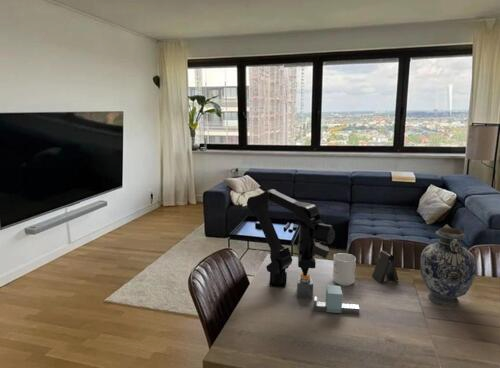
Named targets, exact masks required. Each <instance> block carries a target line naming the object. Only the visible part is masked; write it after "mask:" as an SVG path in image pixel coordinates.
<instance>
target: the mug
mask: <svg viewBox="0 0 500 368" xmlns="http://www.w3.org/2000/svg"><path fill="white" fill-rule="evenodd" d="M356 262H357V258H356V256H355V255H353V254H350V253H345V252H343V253H342V252H339V253H334V254H333V261H332V263H333V268H332V269H333V270H332V278H333V279H332V280H333V281H334V282H335V284H337V285H338V286H344V287H345V286H346V287H347V286H351V285H352V284H354V282H355V277H356V264H357V263H356Z"/></svg>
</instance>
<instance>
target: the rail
mask: <svg viewBox="0 0 500 368" xmlns="http://www.w3.org/2000/svg"><path fill="white" fill-rule="evenodd" d="M312 304H313V307H312V308H313V312H314V311H315V312H325V313H328V312H327V305H326V301H318V297H317V296H313V303H312ZM340 314H353V315H354V314H355V315H359V314H360V306H359V304H355V303H343V302H342V310H341V313H340Z"/></svg>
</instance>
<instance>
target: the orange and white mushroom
mask: <svg viewBox="0 0 500 368" xmlns="http://www.w3.org/2000/svg"><path fill="white" fill-rule="evenodd" d="M300 276H301V279H302V280H301V282H308V283H309V279H310V277H311V275H310V274H309V273H307V276H304V275H303V273H300Z"/></svg>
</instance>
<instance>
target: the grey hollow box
mask: <svg viewBox="0 0 500 368" xmlns="http://www.w3.org/2000/svg"><path fill="white" fill-rule="evenodd" d="M301 280H302V279H301V275H300V276H299V275H298V276H297V279H296V299H297V298H300V299H312V300H314V296H313V295H314V281H313V276H310V279H309V283H308V282H301Z"/></svg>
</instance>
